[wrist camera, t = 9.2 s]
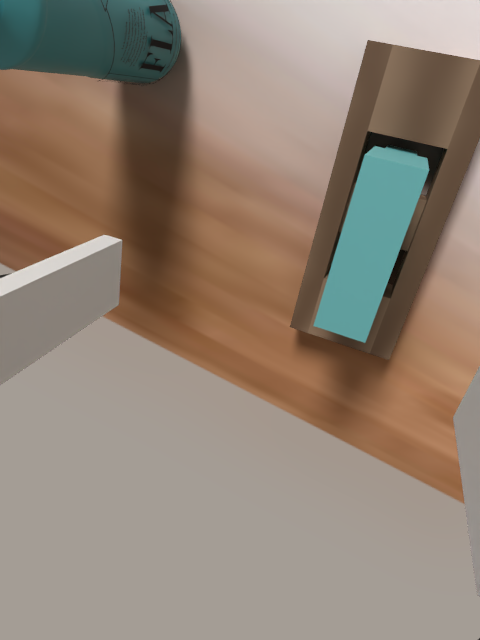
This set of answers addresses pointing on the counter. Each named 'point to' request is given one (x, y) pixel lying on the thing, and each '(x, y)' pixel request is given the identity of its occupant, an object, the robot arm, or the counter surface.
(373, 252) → the notched teal block
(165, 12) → the beverage bottle
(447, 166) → the rail
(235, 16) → the counter surface
